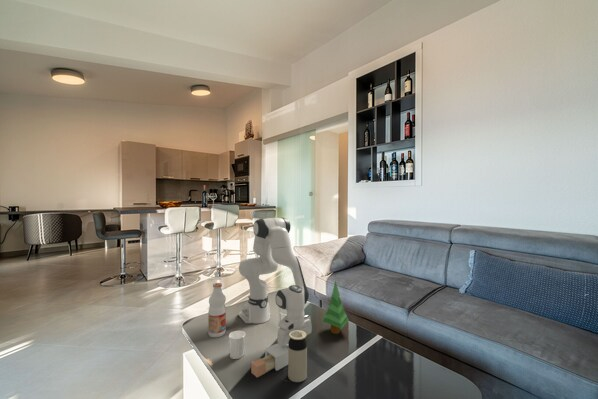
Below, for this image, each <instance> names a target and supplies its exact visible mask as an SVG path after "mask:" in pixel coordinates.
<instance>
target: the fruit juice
mask: <svg viewBox="0 0 598 399" xmlns="http://www.w3.org/2000/svg"><path fill="white" fill-rule="evenodd" d="M222 286H223V283H221V282H215V283H213V284H212V287H213V291H212V293H211V295H210V297H209V299H208V303H209V307H208V320H207V322H208V327H207V329H208V330H207V331H208V332H207V333H208V336H209V337H210V338H220V337H222V336H224V335H225V333H226V329H227V328H226V327H227V325H226V320H227V317H226V316H227V313H226V312H227V307H226V300H227V298H226V295H225V294H224V293H223V291H222Z"/></svg>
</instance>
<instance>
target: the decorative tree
mask: <svg viewBox="0 0 598 399" xmlns="http://www.w3.org/2000/svg"><path fill="white" fill-rule="evenodd" d="M332 288H333V289H332V292H331V298H330V300H329V304H328V307H327V309H326V312H325V315H324V317H323V319H322V320H321V322H323V323H326V324H328V325H330V332H331V334H332V333H335V334H334V335H338V334H340V333H339V332H341V331H340V329H341V330H342V329H343V328H344V326H346V324H347V323H348V322H349V321H350V319H349V318H348V315H347V314H346V311H345V309H344V305H343V304H342V300H341V295H340V292H339V287H338V285H337V281H336V279H335V280H334V285H333V287H332ZM337 333H338V334H337Z"/></svg>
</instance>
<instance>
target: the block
mask: <svg viewBox="0 0 598 399" xmlns="http://www.w3.org/2000/svg"><path fill="white" fill-rule="evenodd" d="M250 365H251V366H250V367H251V368H250V369H251V371H250V372H251V374H252V375H253V376H255V377H256V378H259V377H261V376H263V375H265V374H266V373H267V372H266V362H264V361H263V360H262V358H260V357H259V358H257V359H255V360H253V361H251V363H250Z"/></svg>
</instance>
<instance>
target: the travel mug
mask: <svg viewBox="0 0 598 399" xmlns="http://www.w3.org/2000/svg"><path fill="white" fill-rule="evenodd" d="M289 337H290V339H289V342H288V345H287V346H288V365H287V367H288V368H287V370H288V372H287V376H288V379H289V380H290V381H291V382H293V383H301V382H304V381H305V380H306V379H307V374H308V366H307V365H308V360H307V359H308V341H307V339H306V338H307V335H306V333H305V332H304V331H301V330H295V331H292V332H290V333H289Z"/></svg>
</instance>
